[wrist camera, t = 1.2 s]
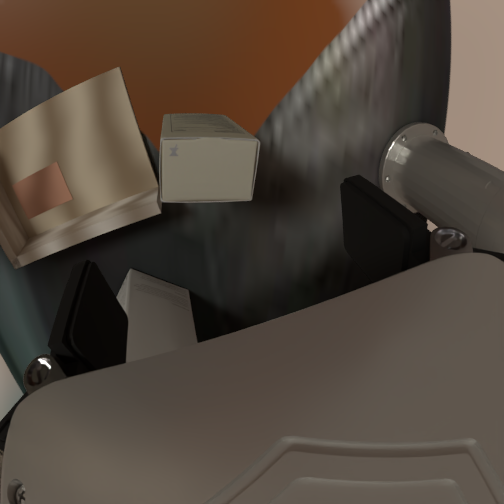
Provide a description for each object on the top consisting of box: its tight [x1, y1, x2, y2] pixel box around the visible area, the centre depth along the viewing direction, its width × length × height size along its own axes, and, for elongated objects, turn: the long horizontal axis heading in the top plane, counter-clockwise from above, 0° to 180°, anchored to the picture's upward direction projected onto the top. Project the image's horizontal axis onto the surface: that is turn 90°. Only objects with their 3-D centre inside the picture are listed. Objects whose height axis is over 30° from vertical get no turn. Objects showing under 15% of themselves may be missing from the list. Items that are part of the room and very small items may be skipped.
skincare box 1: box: [117, 269, 197, 363], centre depth 31 cm, size 8×7×16 cm
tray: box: [0, 67, 162, 269], centre depth 25 cm, size 18×14×4 cm
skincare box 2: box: [159, 114, 260, 203], centre depth 24 cm, size 6×4×12 cm
